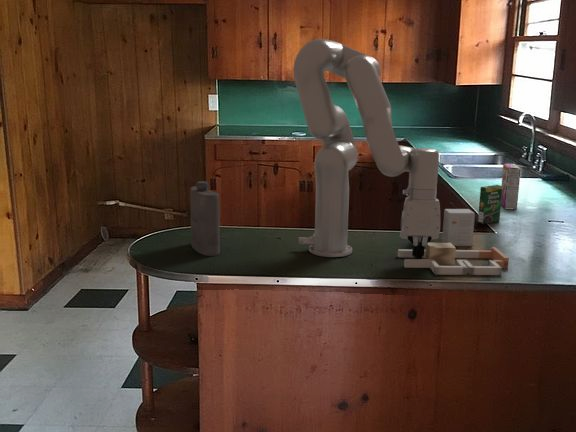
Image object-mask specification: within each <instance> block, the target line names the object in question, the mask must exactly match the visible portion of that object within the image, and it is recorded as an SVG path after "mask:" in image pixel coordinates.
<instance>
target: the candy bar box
mask: <svg viewBox="0 0 576 432" xmlns="http://www.w3.org/2000/svg"><path fill="white" fill-rule="evenodd" d="M521 170H522V168H521V167H519V166H518V165H517V164H516V163H503V164H502V173H501V185H500V186H502V196H501V204H502V205H503V206H502V205H501V206H502V207H503V208H513V209H512V210H518V199H519V189H520V181H521V180H520V179H521Z"/></svg>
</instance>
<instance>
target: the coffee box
mask: <svg viewBox="0 0 576 432" xmlns="http://www.w3.org/2000/svg"><path fill="white" fill-rule="evenodd" d="M479 191H480V192H479V205H478V206H479V207H478V217H477V223H479V224H482V225H485V224H486V223H487V224H492V223H498V222H500V217H501V209H502V205H501V196H502V186H501V185H500V184H492V185H486V186H480V190H479Z"/></svg>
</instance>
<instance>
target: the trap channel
mask: <svg viewBox="0 0 576 432" xmlns="http://www.w3.org/2000/svg"><path fill="white" fill-rule="evenodd" d="M490 249H491V250H486V249H485V250H484V249H483V250H482V249H479V250H477V249H474V250H473V249H467V250H465V249H456V252H455V264H454V265H438V264H437V263H436V261H435V260H434V259H425V251H426V249H424V256H422V259H415V258H414V256H412V249H405V248H404V249H402V248H401V249H400V248H399V249H397V257H398V258H404V262H403V268H406V269H407V268H413V269H414V268H415V269H417V268H418V269H419V268H420V269H421V268H422V269H424V268H426V269H427V268H428V269H430V270H431V271H432V272H433V274H434V275H442V276H443V275H445V276H446V275H449V276H451V275H452V276H453V275H457V276H458V275H460V276H463V275H464V276H466V275H469V276H502V272H503V270H502V269H509V260H510V258H509V257H508V256H507V255H506V254H505V253H503V252H502V251H501V249H499V248H498V247H496V246H495V247H494V246H491V247H490ZM468 259H488V264H487V266H486V265H484V266H483V265H473V264H472V263H471V262H470V261H469V260H468Z"/></svg>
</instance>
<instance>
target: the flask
mask: <svg viewBox="0 0 576 432" xmlns="http://www.w3.org/2000/svg"><path fill="white" fill-rule="evenodd" d="M209 186H210V185H209V182H207V181H206V180H205V181H204V180H203V181H202V180H201V181H200V180H199V181H197V182H195V186H191V187H190V188H189V196H190V197H189V201H190V207H189V208H190V239H191V240H190V243H191V247H192V249H193V250H194V251H196V252H197V253H198V254H199V255H200V254H201V255H203V256H205V257H216V256H218V255H220V254H221V249H220V248H221V247H220V245H221V243H220V242H221V241H220V240H221V238H220V236H221V235H220V234H221V233H220V232H221V231H220V227H221V226H220V194H219V193H218V192H216V191H213V190H211V189H209Z"/></svg>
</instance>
